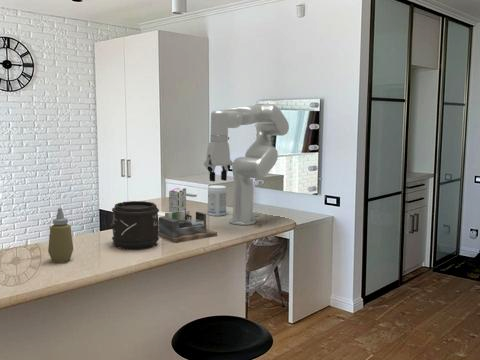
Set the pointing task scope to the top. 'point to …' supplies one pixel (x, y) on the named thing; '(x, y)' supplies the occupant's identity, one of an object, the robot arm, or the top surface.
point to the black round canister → (135, 225)
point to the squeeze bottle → (60, 239)
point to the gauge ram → (195, 220)
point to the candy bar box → (177, 200)
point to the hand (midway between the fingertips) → (218, 180)
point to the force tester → (181, 228)
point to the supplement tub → (216, 200)
